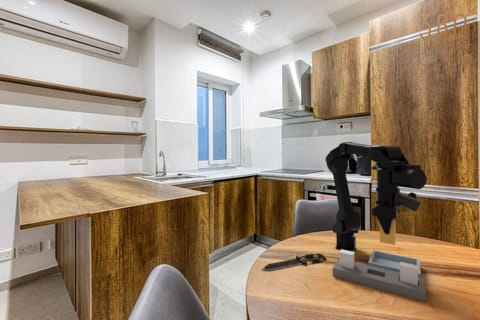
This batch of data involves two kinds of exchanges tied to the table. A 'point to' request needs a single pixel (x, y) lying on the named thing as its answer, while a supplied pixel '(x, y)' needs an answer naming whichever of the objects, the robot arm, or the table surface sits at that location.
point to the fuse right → (409, 273)
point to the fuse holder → (381, 280)
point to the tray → (391, 261)
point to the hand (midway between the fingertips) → (387, 232)
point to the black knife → (293, 262)
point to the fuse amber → (388, 235)
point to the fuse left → (347, 259)
